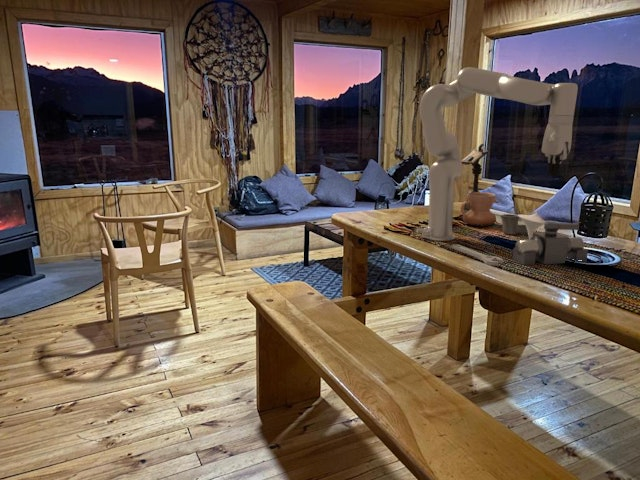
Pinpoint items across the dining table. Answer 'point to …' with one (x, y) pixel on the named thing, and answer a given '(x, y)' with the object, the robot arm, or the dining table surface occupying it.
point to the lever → (561, 226)
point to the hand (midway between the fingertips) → (552, 174)
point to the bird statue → (474, 168)
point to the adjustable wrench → (479, 255)
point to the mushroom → (532, 222)
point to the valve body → (549, 248)
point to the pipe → (512, 225)
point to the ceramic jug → (479, 209)
